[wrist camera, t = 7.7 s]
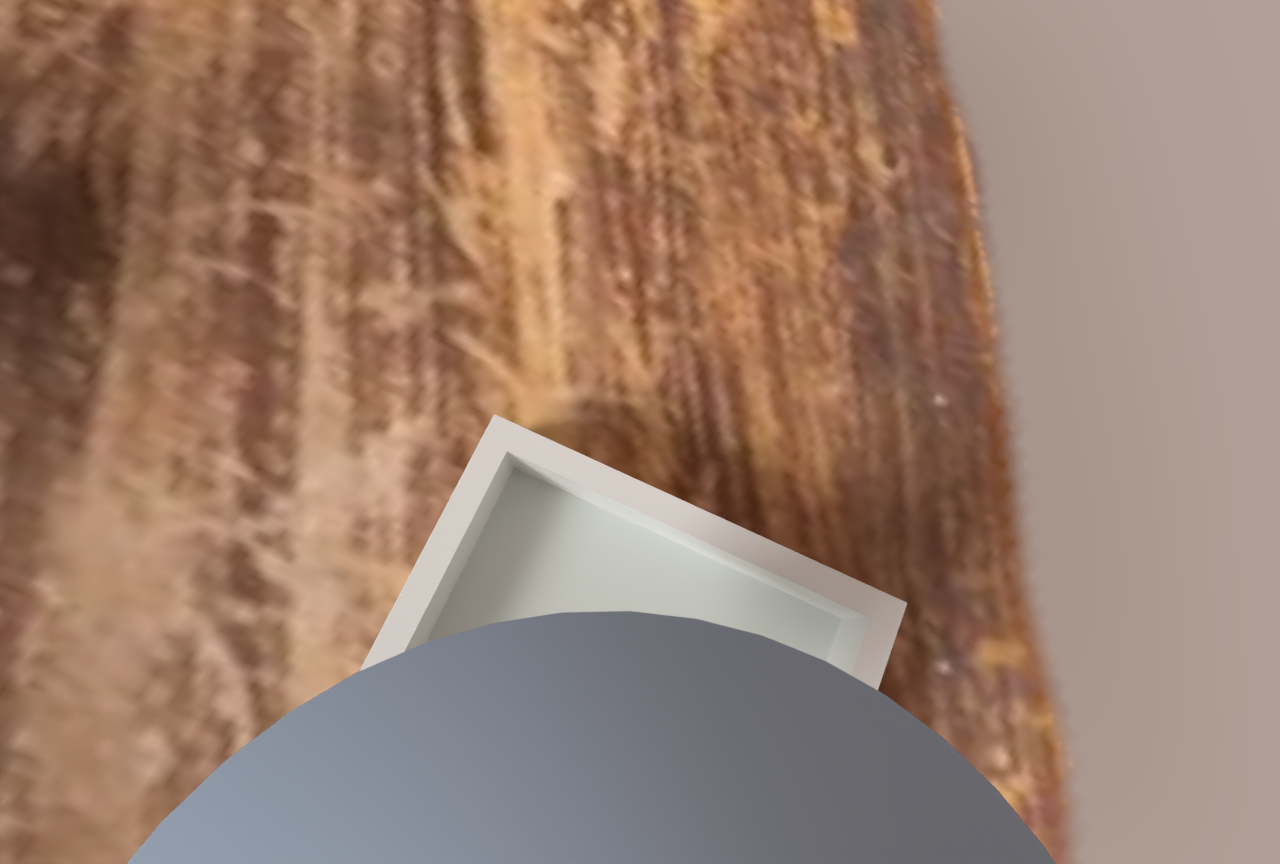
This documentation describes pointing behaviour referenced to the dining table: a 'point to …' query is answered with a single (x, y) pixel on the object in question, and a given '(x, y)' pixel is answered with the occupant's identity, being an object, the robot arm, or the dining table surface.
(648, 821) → the slate capsule
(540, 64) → the dining table surface
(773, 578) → the shallow square tray
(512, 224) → the dining table surface
